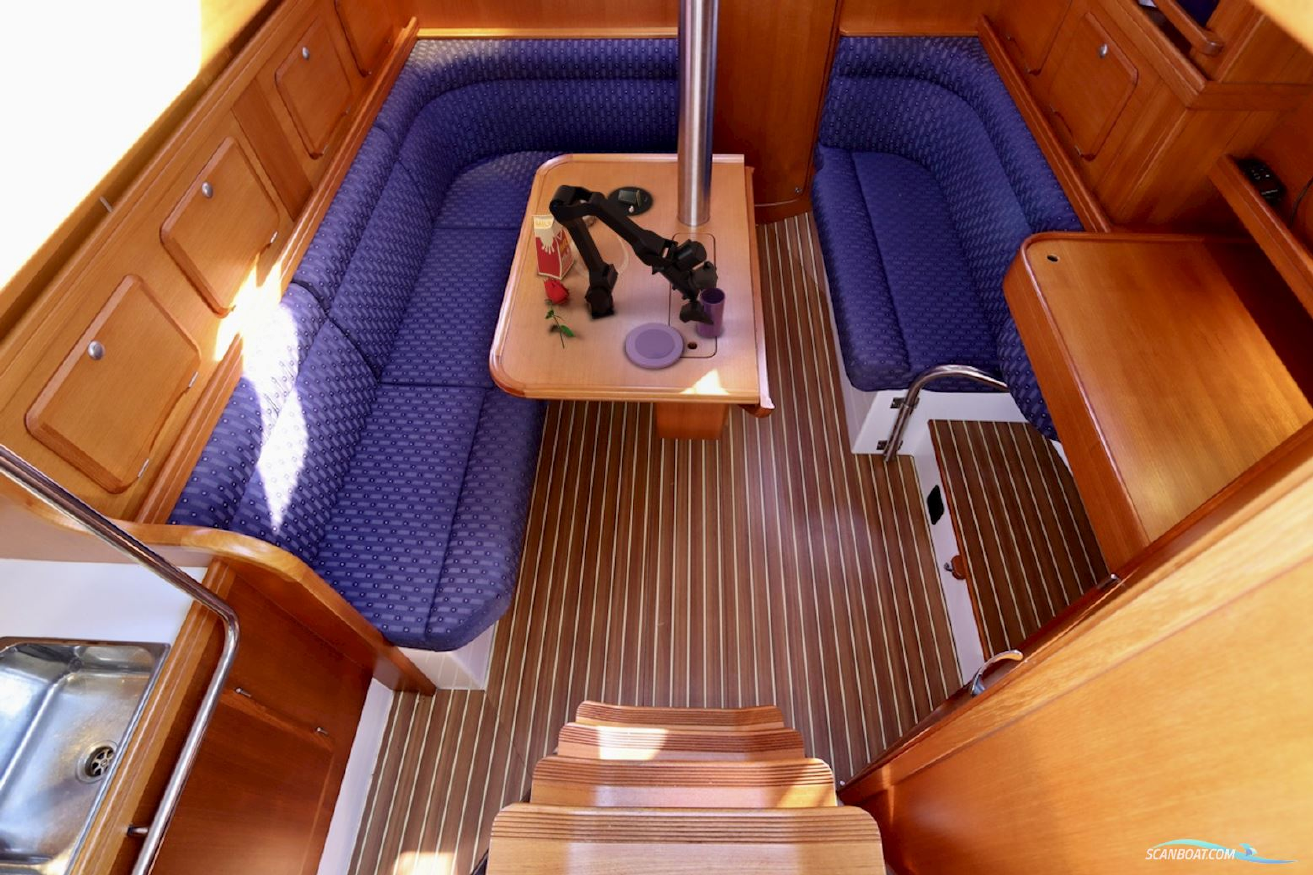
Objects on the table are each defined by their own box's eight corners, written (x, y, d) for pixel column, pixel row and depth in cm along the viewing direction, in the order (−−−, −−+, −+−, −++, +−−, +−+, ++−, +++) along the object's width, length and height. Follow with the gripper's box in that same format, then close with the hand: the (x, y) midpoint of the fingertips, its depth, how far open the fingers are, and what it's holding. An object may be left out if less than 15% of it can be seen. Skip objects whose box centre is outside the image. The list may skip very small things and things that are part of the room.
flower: (571, 328, 170) (553, 260, 188) (542, 346, 172) (527, 278, 190) (590, 347, 177) (571, 280, 195) (562, 364, 179) (546, 297, 197)
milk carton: (574, 261, 201) (567, 206, 184) (562, 280, 196) (553, 225, 180) (547, 254, 203) (537, 199, 186) (534, 273, 198) (524, 218, 181)
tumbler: (693, 324, 186) (695, 291, 175) (714, 317, 188) (718, 284, 177) (704, 341, 183) (707, 307, 172) (725, 333, 184) (729, 300, 173)
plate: (636, 375, 176) (636, 371, 174) (618, 334, 184) (618, 330, 183) (691, 360, 179) (691, 356, 178) (671, 320, 187) (671, 316, 186)
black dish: (601, 210, 215) (600, 196, 210) (615, 184, 223) (615, 170, 218) (644, 219, 212) (644, 205, 208) (657, 192, 220) (657, 178, 216)
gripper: (693, 287, 161) (732, 326, 169) (707, 239, 171) (744, 277, 179) (662, 304, 168) (701, 341, 176) (678, 257, 179) (714, 294, 186)
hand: (716, 312), depth 179 cm, fingers open, 9 cm apart
